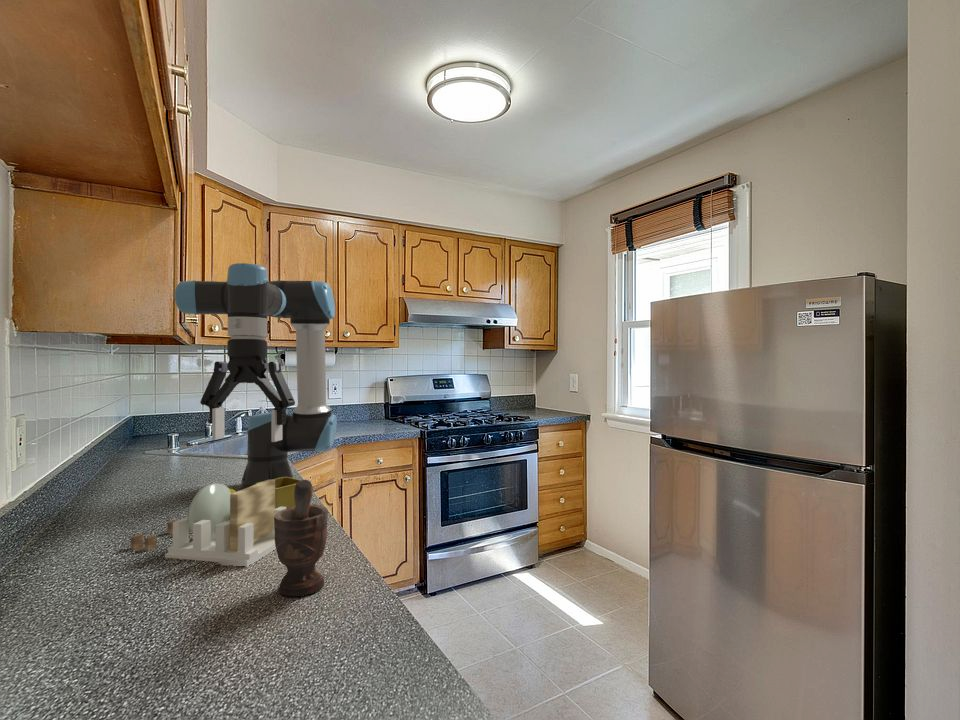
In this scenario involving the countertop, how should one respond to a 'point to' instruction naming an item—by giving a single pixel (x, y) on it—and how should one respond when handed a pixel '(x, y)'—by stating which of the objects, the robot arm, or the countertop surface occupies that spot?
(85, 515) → the countertop surface
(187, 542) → the dish rack
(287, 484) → the flower pot
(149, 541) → the board stand
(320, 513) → the mortar and pestle
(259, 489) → the bamboo board
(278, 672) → the countertop surface
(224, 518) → the sage plate
